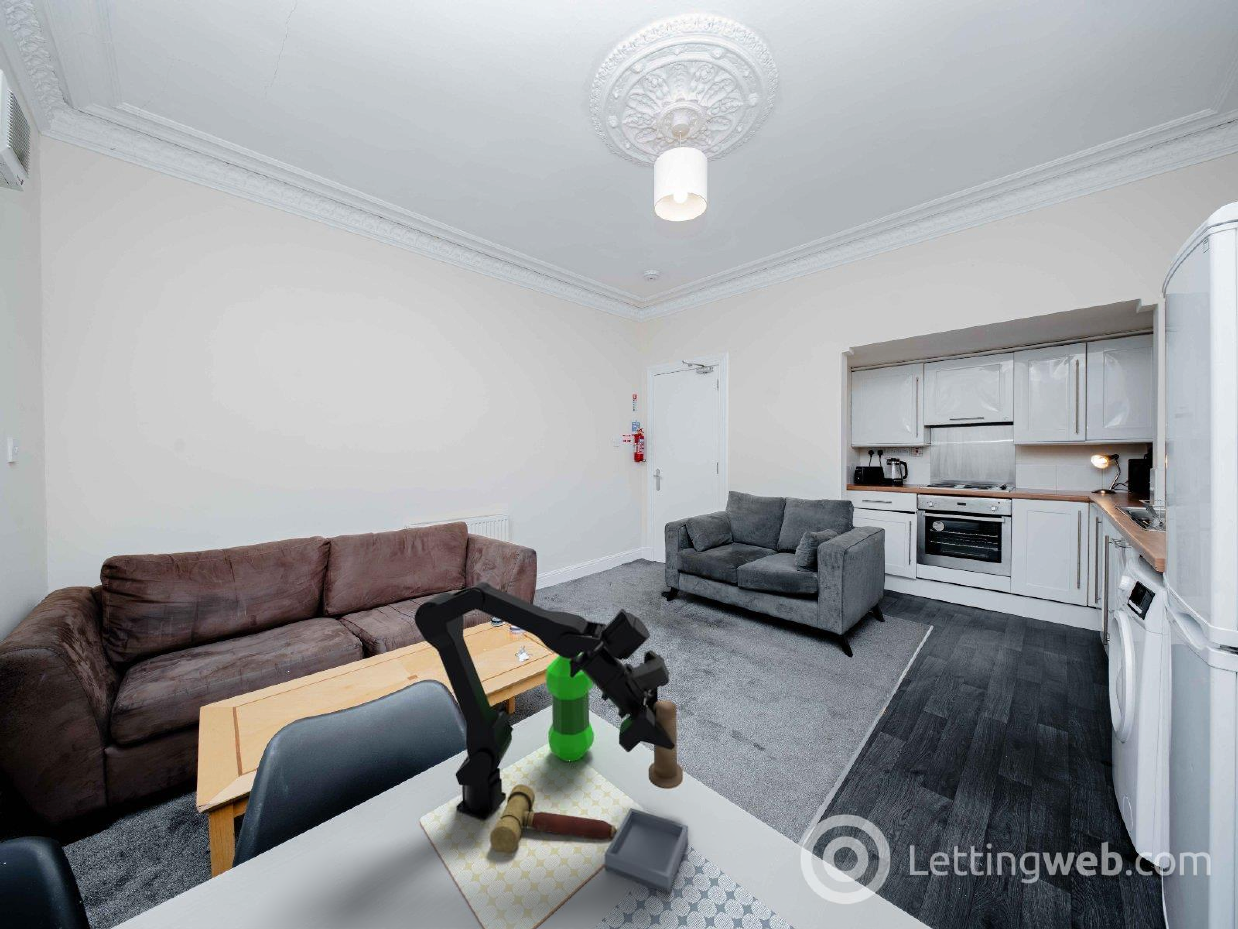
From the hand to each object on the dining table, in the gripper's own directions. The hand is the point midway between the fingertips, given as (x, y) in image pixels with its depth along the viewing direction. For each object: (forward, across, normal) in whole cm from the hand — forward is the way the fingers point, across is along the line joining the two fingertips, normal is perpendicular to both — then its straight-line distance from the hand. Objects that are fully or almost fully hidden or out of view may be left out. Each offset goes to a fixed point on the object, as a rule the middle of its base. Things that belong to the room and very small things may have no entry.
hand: (673, 740), depth 82 cm
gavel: (-4, -5, +24) cm, 24 cm away
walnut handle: (+4, 0, +6) cm, 7 cm away
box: (+6, -8, +12) cm, 16 cm away
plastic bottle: (-6, +16, +25) cm, 30 cm away
